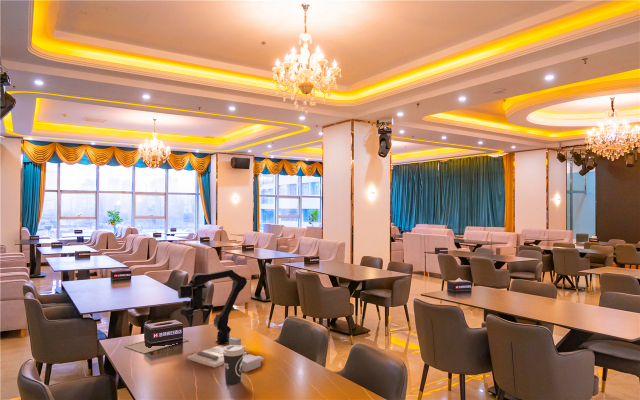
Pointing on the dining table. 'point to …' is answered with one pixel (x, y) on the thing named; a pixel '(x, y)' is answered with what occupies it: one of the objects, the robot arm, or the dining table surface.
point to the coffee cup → (233, 363)
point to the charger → (251, 362)
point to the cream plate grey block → (235, 342)
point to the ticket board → (211, 363)
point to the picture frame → (143, 349)
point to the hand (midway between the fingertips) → (197, 324)
